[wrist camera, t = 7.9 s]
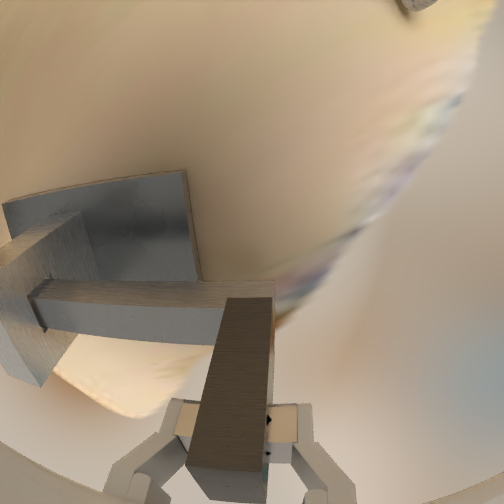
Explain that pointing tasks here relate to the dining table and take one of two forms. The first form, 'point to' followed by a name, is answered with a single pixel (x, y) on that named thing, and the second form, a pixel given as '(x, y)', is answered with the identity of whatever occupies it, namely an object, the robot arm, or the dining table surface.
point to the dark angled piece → (197, 333)
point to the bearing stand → (88, 253)
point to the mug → (417, 4)
